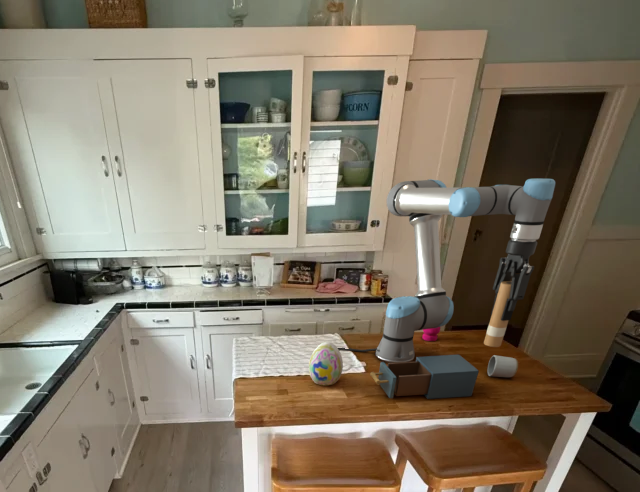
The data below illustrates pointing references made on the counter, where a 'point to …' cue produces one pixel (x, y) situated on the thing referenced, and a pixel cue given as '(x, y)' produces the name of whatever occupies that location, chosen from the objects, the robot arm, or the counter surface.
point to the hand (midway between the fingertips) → (500, 317)
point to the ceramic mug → (502, 366)
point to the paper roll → (498, 317)
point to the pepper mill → (431, 334)
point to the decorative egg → (326, 364)
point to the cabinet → (449, 376)
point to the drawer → (403, 378)
